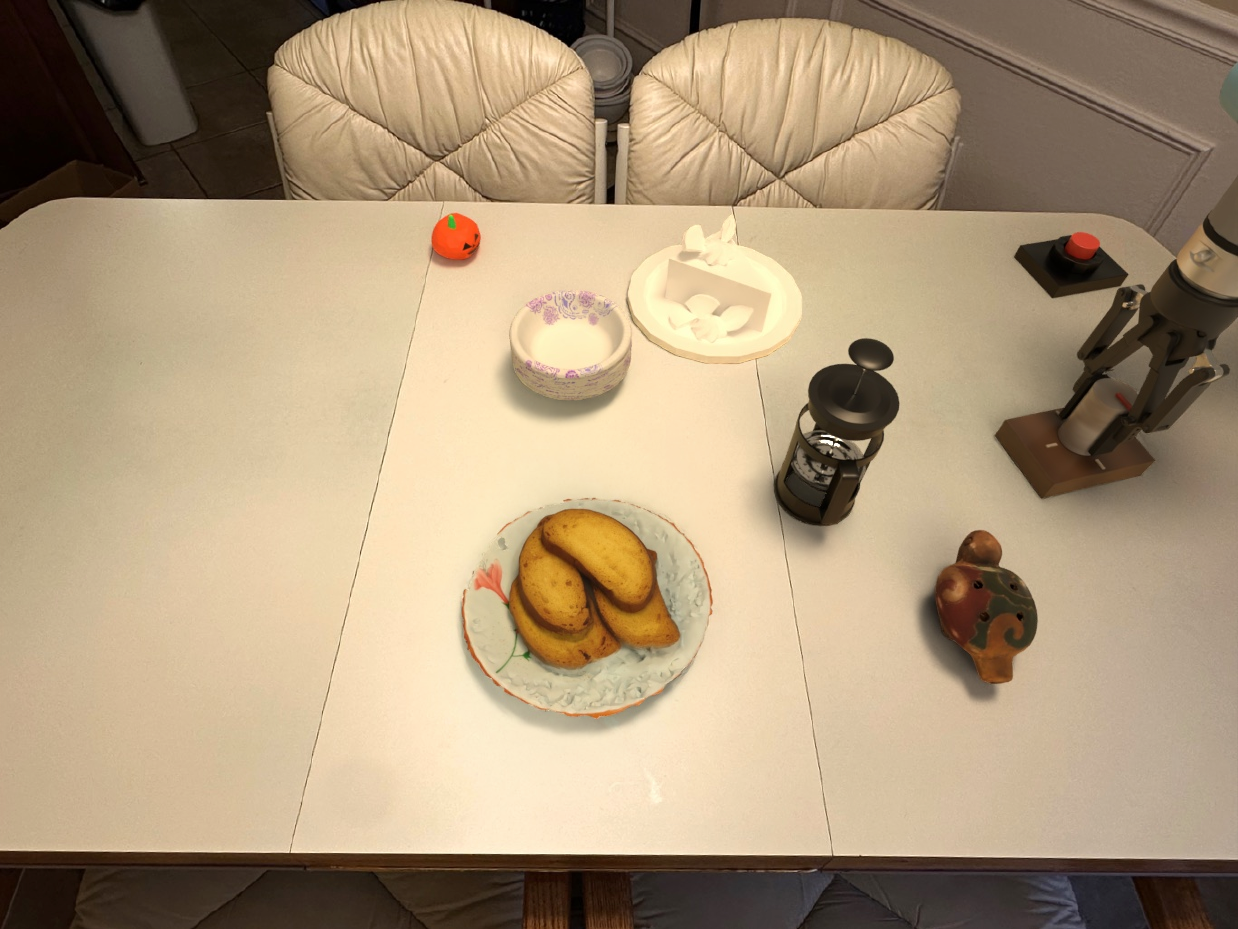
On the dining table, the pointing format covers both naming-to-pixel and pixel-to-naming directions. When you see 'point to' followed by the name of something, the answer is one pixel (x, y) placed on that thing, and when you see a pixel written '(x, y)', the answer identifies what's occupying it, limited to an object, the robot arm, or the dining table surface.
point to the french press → (839, 433)
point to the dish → (714, 299)
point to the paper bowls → (571, 344)
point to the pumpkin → (455, 236)
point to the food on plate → (587, 607)
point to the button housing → (1068, 268)
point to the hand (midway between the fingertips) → (1084, 432)
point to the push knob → (1082, 245)
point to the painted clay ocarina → (986, 607)
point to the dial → (1096, 414)
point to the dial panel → (1065, 456)
